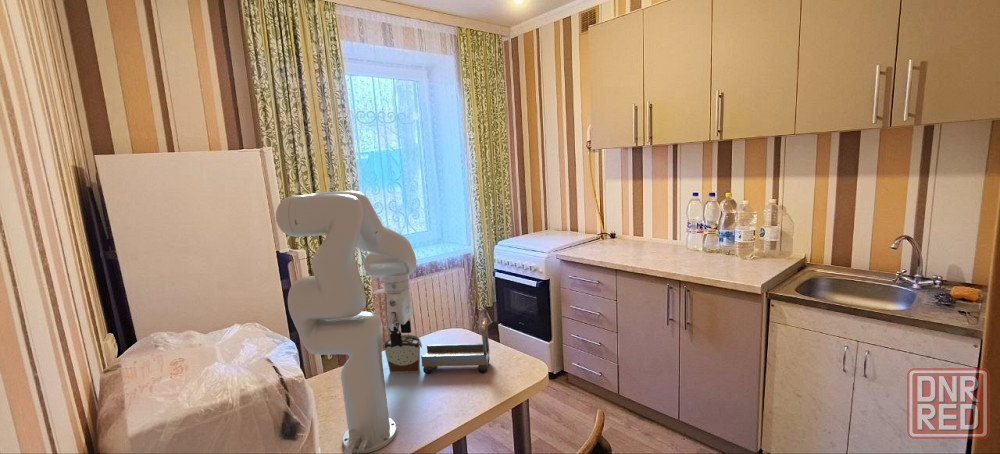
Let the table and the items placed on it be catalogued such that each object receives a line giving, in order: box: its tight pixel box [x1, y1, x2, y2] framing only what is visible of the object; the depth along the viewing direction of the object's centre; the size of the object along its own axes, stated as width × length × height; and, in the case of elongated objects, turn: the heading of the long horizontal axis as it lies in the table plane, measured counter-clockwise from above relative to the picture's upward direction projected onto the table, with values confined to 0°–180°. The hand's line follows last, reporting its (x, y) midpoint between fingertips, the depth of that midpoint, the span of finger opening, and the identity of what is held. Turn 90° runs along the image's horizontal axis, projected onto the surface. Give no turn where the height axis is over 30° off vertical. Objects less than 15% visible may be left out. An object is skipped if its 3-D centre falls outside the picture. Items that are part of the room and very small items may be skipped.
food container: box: [382, 334, 423, 374], centre depth 135 cm, size 12×6×10 cm, turn 85°
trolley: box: [420, 317, 491, 375], centre depth 132 cm, size 8×20×15 cm, turn 86°
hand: (401, 338), depth 132 cm, fingers open, 9 cm apart
